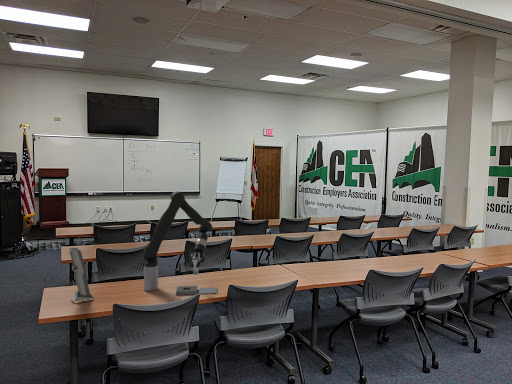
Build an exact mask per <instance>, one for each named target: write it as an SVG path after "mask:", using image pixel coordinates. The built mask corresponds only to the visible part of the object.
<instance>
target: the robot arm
mask: <svg viewBox="0 0 512 384" xmlns="http://www.w3.org/2000/svg"><path fill="white" fill-rule="evenodd" d="M169 202H170V203H169V205H168V206H167V209H166V210H165V212H163V214H162V215H161V216H160V218H159V220H158V222H157V224H156V226H155V229H154V231H153V235H152V238H151V240H150V241H149V243H146V244H145V245H144V247H143V263H144V264H143V266H144V277H143V287H144V288H143V291H145V292H146V291H147V292H154V291H156V290H158V289H159V273H158V271H159V269H158V268H159V267H158V266H159V264H158V253H159V250H160V248H161V244H162V243H163V241H164V239H165V237H166V236H167V234H168V231H169V230H170V228H171V226H172V225H173V222H174V220H175V218H176V215H177V213H178V212H179V210H180V209H181V210H182V211H183V213H185V214H186V215H187V216H188V217H189V219H190V220H191V221H192V222H193V223H194V224H195V225H197V226H198V225H199V227H198V237H197V239H196V242H195V245H194V249H193V252H192V253H188V259H189V260H188V261H189V262H190V267H191V268H193V257H198V262H197V268H198V269H199V268H200V266H201V264H202V263H204V262H205V260H206V259H207V257H208V256H207V253H206V254H205V250H206V247H207V242H208V238H209V236H208V234H207V233H209V232H211V231H212V230H213V225H212V223H211V222H210V221H208V220H207V219H205V218H204V217H203V216H201V214H199V212H198V211H197V210H196V209H195V208H194V207H192V206H191V205H190V204H189V202H187V200H186V198H185V195H184V192H180V191H174V192H171V195H170V201H169Z"/></svg>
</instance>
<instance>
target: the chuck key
mask: <svg viewBox="0 0 512 384" xmlns="http://www.w3.org/2000/svg"><path fill="white" fill-rule="evenodd" d="M192 259H193V267H192V274H193V275H195V276H196V275H199V267H198V268H197V262H198V257H193V256H192Z"/></svg>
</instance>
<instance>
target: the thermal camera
mask: <svg viewBox="0 0 512 384" xmlns="http://www.w3.org/2000/svg"><path fill="white" fill-rule="evenodd" d="M68 250H69V255H70V259H71V262H72V263H71V264H72V265H71V270H72V272H74V278H75V283H76V286H77V291H75V293H74V294H73V296H71V299H73V301H83V300H90V299H94V296H93V295H92V294H91V292H90V287H89V282H88V277H87V268H86V265H85V261H84V258H83V254H82V251H81V250H80V249H79V248H77V247H69V248H68ZM94 300H95V299H94Z"/></svg>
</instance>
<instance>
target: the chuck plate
mask: <svg viewBox="0 0 512 384" xmlns="http://www.w3.org/2000/svg"><path fill="white" fill-rule="evenodd" d="M196 294H197V295H198V285H187V286H186V285H183V286H179V285H178V286H177V288H176V291H175V296H195V295H196Z"/></svg>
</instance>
